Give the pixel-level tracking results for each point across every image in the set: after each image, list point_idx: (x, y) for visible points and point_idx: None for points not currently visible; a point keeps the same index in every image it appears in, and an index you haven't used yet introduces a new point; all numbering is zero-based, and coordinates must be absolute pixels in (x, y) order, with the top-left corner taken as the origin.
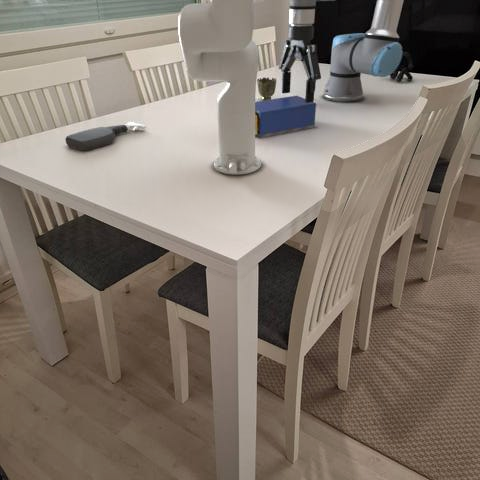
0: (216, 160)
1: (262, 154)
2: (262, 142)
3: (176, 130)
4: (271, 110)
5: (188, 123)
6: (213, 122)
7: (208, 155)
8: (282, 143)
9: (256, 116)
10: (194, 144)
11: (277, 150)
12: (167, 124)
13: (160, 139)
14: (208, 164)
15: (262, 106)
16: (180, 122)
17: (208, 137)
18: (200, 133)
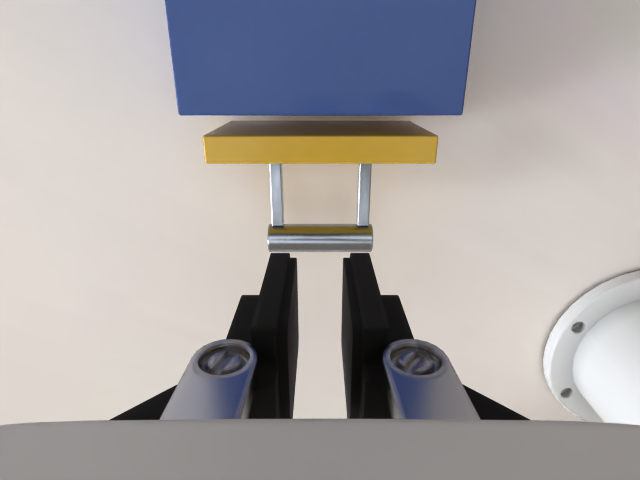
0: (575, 408)
1: (608, 211)
2: (482, 130)
3: (125, 388)
4: (472, 5)
5: (38, 316)
6: (60, 207)
7: (469, 386)
8: (564, 40)
9: (436, 141)
10: (329, 387)
11: (622, 123)
12: (25, 392)
13: None
14: (543, 414)
15: (326, 11)
16: (10, 340)
17: None
18: (208, 323)
